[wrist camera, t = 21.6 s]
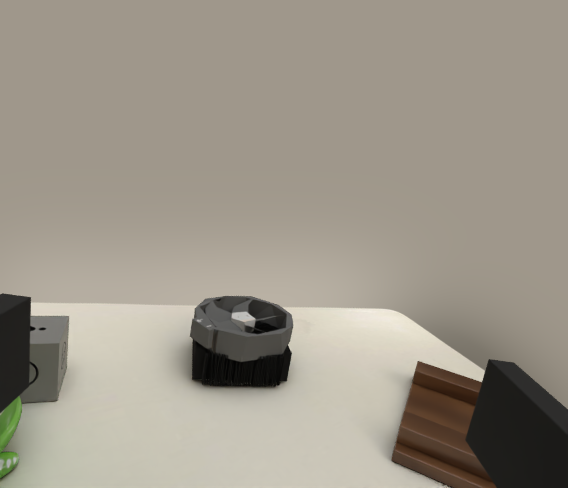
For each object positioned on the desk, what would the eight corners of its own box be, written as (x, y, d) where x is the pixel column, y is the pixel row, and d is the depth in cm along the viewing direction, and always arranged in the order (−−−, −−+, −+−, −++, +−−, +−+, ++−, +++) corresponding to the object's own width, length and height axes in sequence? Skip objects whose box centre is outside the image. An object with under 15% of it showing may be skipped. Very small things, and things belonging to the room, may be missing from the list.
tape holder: (520, 517, 27) (531, 487, 27) (390, 460, 31) (397, 433, 30) (502, 408, 41) (509, 386, 40) (413, 377, 44) (418, 357, 44)
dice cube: (1, 369, 34) (1, 315, 33) (66, 366, 36) (69, 315, 35) (-20, 405, 29) (-20, 345, 28) (57, 400, 31) (59, 343, 30)
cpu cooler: (282, 297, 46) (306, 337, 37) (275, 341, 47) (295, 392, 38) (192, 290, 44) (192, 331, 34) (187, 337, 45) (185, 390, 35)
